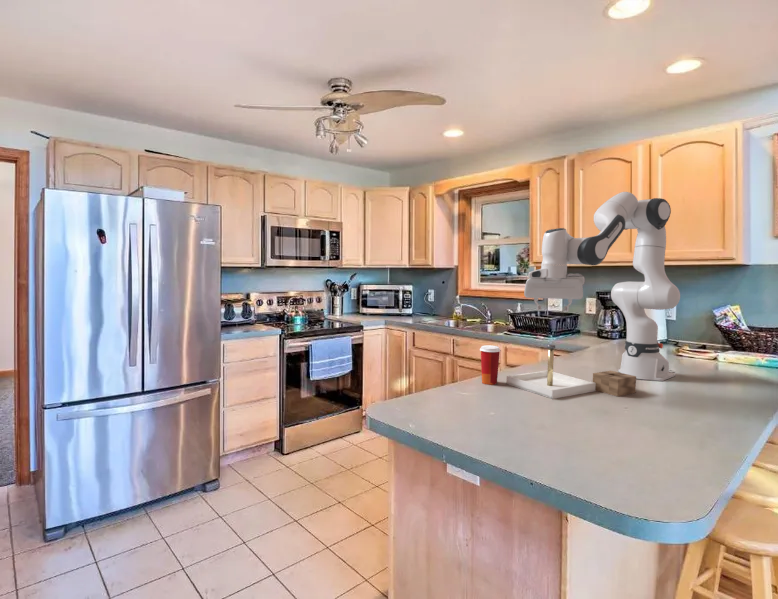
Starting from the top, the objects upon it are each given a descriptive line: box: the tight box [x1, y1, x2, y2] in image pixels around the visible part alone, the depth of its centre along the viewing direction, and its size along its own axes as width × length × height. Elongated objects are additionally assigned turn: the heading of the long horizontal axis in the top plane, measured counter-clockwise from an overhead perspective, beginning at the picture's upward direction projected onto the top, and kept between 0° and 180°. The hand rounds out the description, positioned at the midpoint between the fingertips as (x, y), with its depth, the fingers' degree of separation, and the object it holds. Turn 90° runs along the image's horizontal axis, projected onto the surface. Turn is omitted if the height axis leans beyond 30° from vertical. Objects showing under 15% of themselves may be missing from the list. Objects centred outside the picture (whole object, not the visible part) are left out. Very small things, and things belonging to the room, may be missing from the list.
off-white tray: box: [505, 370, 596, 400], centre depth 167 cm, size 22×22×3 cm
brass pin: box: [546, 344, 556, 386], centre depth 167 cm, size 3×3×15 cm
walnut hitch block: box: [592, 370, 637, 397], centre depth 163 cm, size 10×10×6 cm
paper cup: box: [479, 344, 501, 386], centre depth 172 cm, size 8×8×14 cm
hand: (552, 310), depth 165 cm, fingers open, 8 cm apart
